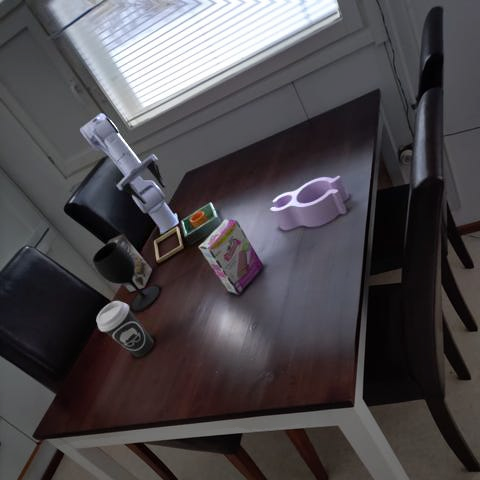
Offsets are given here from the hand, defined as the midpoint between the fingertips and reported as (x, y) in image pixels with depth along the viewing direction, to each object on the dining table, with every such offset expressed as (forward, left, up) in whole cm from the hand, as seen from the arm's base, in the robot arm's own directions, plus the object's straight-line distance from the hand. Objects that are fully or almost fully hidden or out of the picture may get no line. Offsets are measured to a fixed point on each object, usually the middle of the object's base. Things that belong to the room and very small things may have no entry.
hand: (154, 195), depth 136 cm
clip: (+21, +37, -22) cm, 48 cm away
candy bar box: (+32, +12, -22) cm, 41 cm away
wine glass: (+12, -20, -22) cm, 32 cm away
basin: (-9, +6, -22) cm, 24 cm away
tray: (-11, -8, -22) cm, 26 cm away
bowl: (-9, +6, -21) cm, 24 cm away
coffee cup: (+35, -22, -22) cm, 47 cm away
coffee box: (0, -21, -22) cm, 30 cm away
